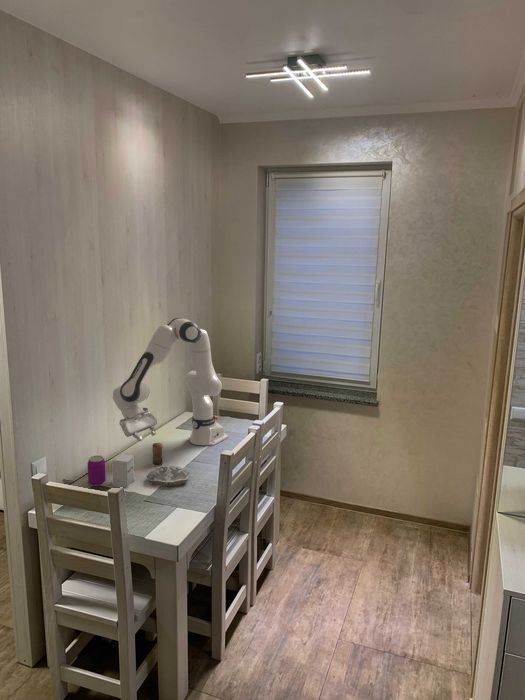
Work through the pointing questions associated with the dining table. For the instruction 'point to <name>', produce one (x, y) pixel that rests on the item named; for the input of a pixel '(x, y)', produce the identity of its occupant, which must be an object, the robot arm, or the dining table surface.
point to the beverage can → (96, 471)
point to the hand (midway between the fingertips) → (147, 437)
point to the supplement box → (123, 470)
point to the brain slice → (168, 476)
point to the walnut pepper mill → (157, 454)
